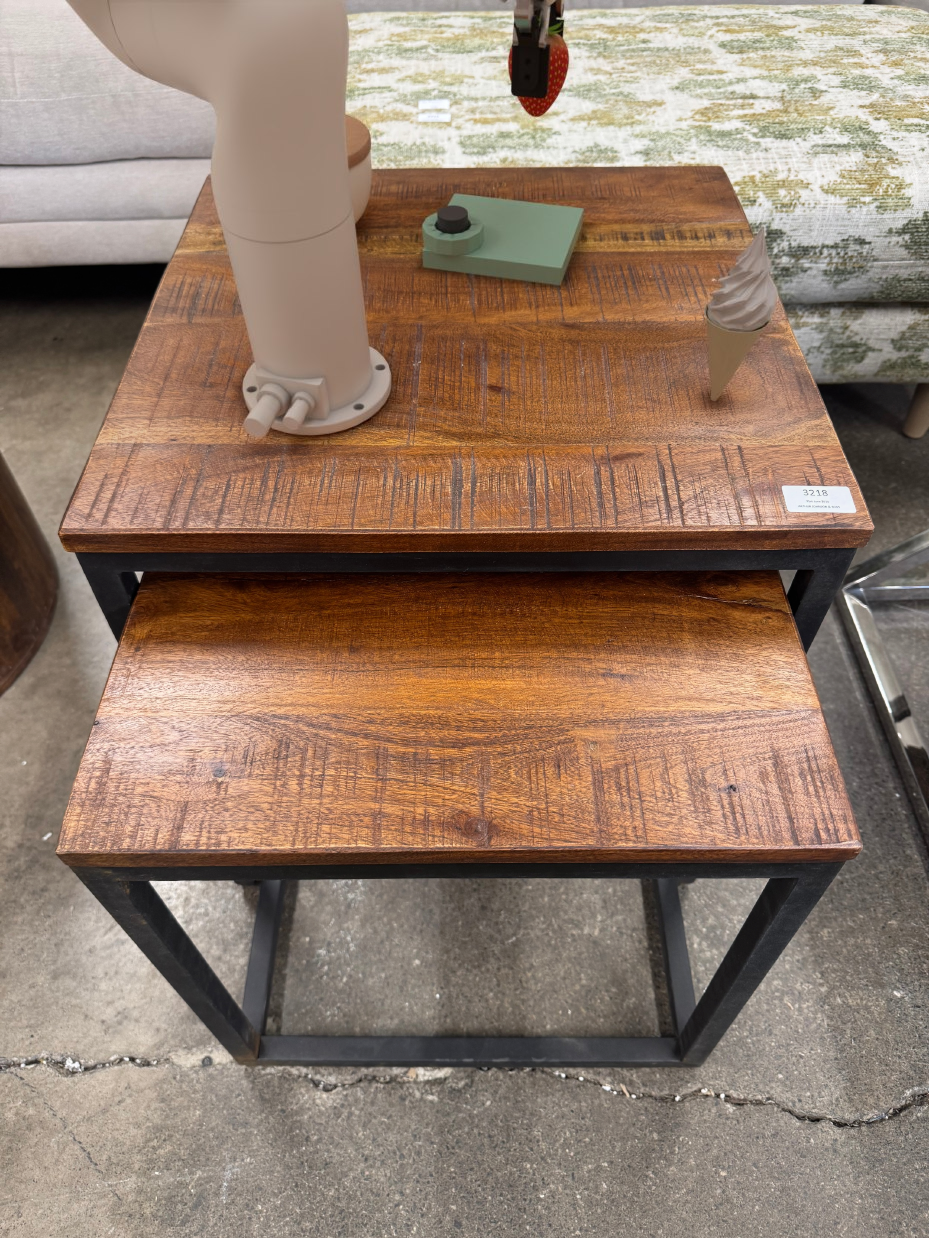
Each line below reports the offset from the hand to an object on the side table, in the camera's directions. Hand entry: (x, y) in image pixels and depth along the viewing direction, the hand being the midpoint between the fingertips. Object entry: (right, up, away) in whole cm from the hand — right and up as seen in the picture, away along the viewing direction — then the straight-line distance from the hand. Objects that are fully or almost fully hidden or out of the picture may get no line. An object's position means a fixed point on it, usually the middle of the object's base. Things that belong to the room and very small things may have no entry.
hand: (536, 80), depth 76 cm
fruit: (0, -2, +2) cm, 3 cm away
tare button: (-8, -10, +7) cm, 14 cm away
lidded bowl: (-22, -7, +14) cm, 27 cm away
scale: (-2, -10, +11) cm, 15 cm away
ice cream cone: (+15, -30, -5) cm, 34 cm away
